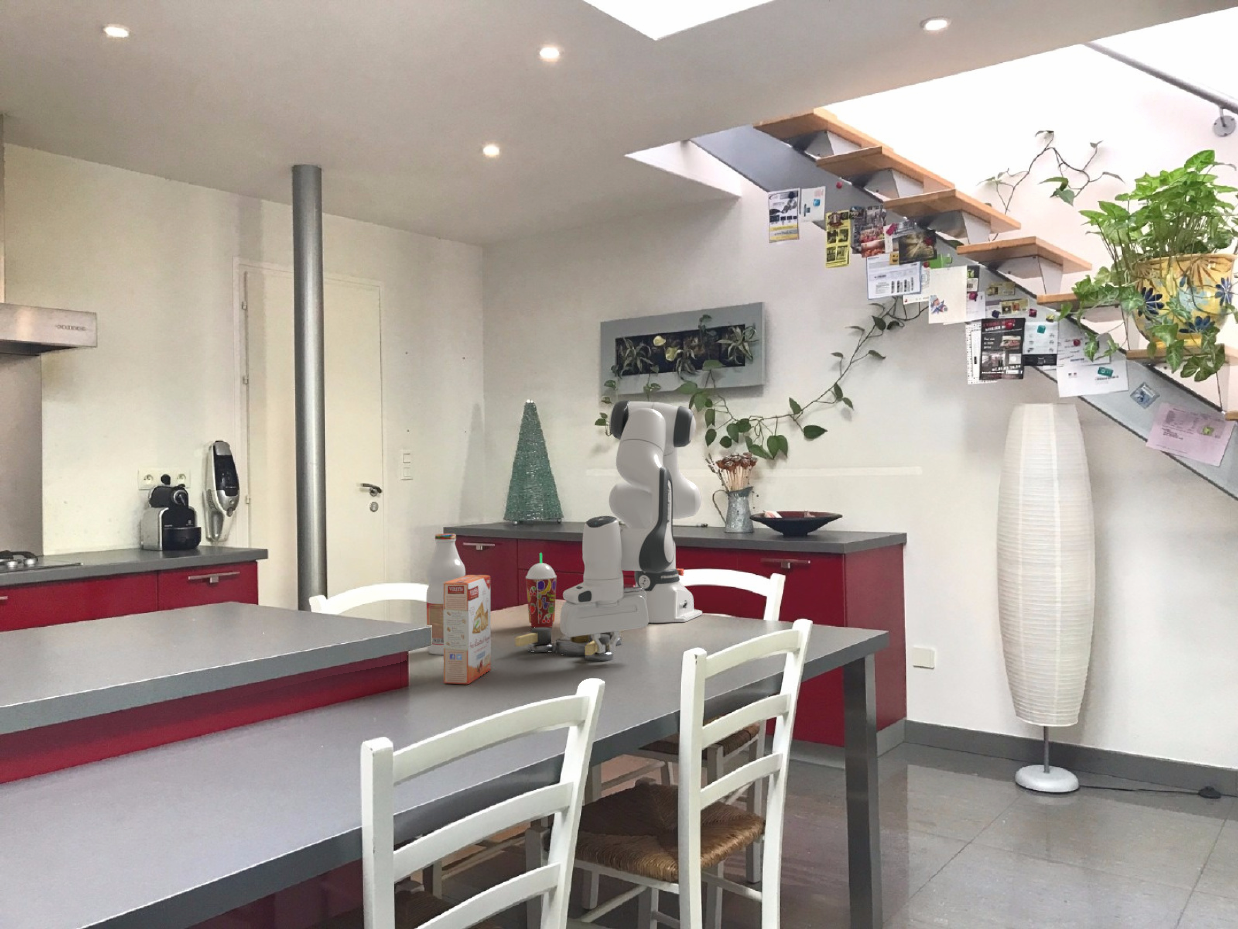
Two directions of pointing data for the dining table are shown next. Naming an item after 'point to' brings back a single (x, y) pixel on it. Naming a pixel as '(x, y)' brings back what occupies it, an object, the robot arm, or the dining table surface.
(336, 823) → the dining table surface
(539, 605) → the smoothie
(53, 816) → the dining table surface
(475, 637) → the cracker box
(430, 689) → the dining table surface
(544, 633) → the knob
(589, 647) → the knob
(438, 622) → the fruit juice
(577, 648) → the tribrach
